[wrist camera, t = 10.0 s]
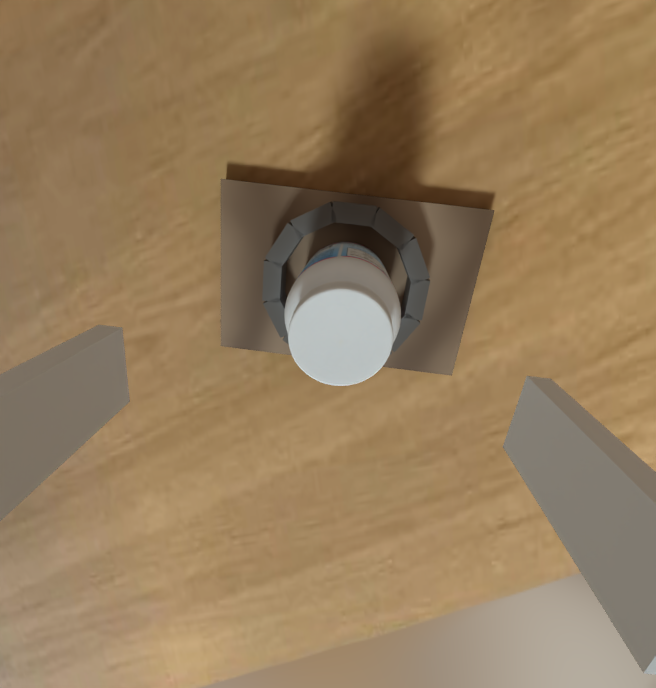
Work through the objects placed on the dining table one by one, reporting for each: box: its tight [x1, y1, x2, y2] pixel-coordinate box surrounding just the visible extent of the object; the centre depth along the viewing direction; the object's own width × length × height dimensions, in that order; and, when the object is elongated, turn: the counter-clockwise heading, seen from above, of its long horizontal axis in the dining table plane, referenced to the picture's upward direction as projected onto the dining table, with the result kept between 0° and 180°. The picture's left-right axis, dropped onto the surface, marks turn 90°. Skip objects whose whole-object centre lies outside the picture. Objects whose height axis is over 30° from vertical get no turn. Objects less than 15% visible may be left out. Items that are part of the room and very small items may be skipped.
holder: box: [221, 179, 494, 375], centre depth 26 cm, size 18×12×3 cm, turn 84°
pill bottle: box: [284, 242, 401, 386], centre depth 21 cm, size 6×6×11 cm
